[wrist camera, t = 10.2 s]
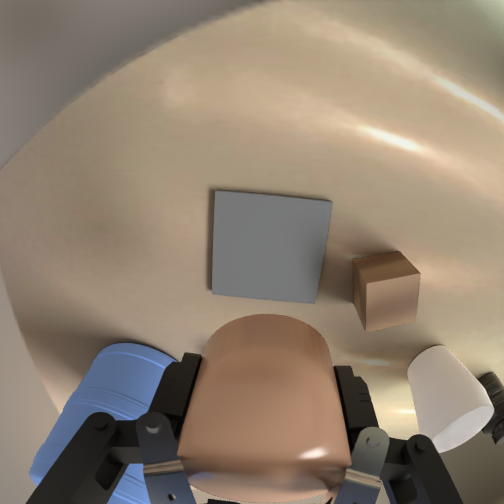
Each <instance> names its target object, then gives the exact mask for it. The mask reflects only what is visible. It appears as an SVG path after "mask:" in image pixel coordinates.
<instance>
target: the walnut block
mask: <svg viewBox="0 0 504 504" xmlns="http://www.w3.org/2000/svg"><path fill="white" fill-rule="evenodd" d="M352 270H353V304H354V306H355V308H356V310H357V313H358V315H359V317H360V320H361V322H362V325H363V327H364V329H365V332H370V331H375V330H380V329H384V328H389V327H394V326H398V325H403V324H407V323H411V322H415V321H416V313H417V305H418V296H419V286H420V274H421V273H420V272H419V271H418V270H417V269H416V268H415V267H414V266H413V265H412V264H411V263H410V262H409V261H408V259H407V258H406V257H405V256H404V255H403V254H402V253H401V252H400V251H397V252H391V253H385V254H379V255H373V256H367V257H361V258H355V259H352Z"/></svg>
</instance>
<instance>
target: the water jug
mask: <svg viewBox="0 0 504 504" xmlns="http://www.w3.org/2000/svg"><path fill="white" fill-rule="evenodd" d="M173 361H174V362H177V361H176V360H174V359H173V358H171V357H170V356H168V355H166V354H164V353H162V352H160V351H158V350H156V349H153V348H150V347H147V346H144V345H140V344H134V343H117V344H113V345H110V346H107V347H106V348H104V349H103V350H101V351H100V352H99V354H98V355H97V357H96V358H95V360H94V361H93V363H92V365H91V368H90V369H89V371H88V372H87V374H86V375H85V377H84V378H83V380H82V381H81V383H80V385H79V386H78V388H77V389H76V391H75V392H74V393H73V394H72V395H71V396H70V398H69V400H68V401H67V403H66V404H65V407H64V409H63V412H62V414H61V415H60V417H59V419H58V420H57V422H56V424H55V425H54V427H53V429H52V431H51V432H50V434H49V436H48V437H47V439H46V441H45V443H44V444H43V445H42V446H41V447H40V449H39V450H38V452H37V454H36V456H35V458H34V460H33V465H32V467H31V468H30V471H29V475H30V477H31V479H32V480H33V482H34V483H35V485H36V486H38V485H39V483H40V482H41V481H42V479H43V478H44V476H45V475H46V474H47V472H48V471H49V469H50V468H51V467H52V465H53V464H54V462H55V461H56V460H57V458H58V457H59V455H60V454H61V453H62V451H63V450H64V448H65V447H66V446H67V444H68V443H69V442H70V440H71V439H72V438H73V436H74V435H75V433H76V432H77V431H78V429H79V428H80V427H81V425H82V424H83V423H84V421H85V420H86V419H87V417H88V416H90V415H91V414H93V413H96V412H106V413H108V414H110V415H112V416H113V417H114V419H115V420H135V419H138V418H139V417H140V416H141V415H143V414H145V413H147V411H148V409H149V407H150V404H151V402H152V399H153V397H154V394H155V392H156V389H157V387H158V385H159V382H160V380H161V378H162V375H163V372H164V370H165V368H166V367H167V366H168V365H169V364H170V363H171V362H173ZM143 468H144V467H143V464H129V466H128V467H127V469H126V471H125V473H124V474H123V476H122V478H121V480H120V481H119V483H118V485H117V487H116V488H115V490H114V492H113V494H112V496H111V497H110V499H109V501H108V503H107V504H151V503H150V499H149V496H148V492H147V488H146V484H145V480H144V475H143Z"/></svg>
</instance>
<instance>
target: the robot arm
mask: <svg viewBox="0 0 504 504" xmlns="http://www.w3.org/2000/svg"><path fill="white" fill-rule="evenodd" d="M201 360H202V356H201V355H200V354H194V353H187V352H185V353H184V356H183V358H182V361H181V363H179V362H174V361H173V362H171V363H170V364H169V365H168V366H167V367H166V368H165V370H164V372H163V375H162V378H161V380H160V382H159V385H158V387H157V389H156V392H155V394H154V397H153V399H152V402H151V404H150V407H149V409H148V411H147V413H145V414H143V415H141V416H140V417H139V418H138V419H135V420H115V419H114V417H113V416H112V415H110V414H108V413H106V412H96V413H93V414H91V415H90V416H88V417H87V419H86V420H85V421H84V423H83V424H82V425H81V427H80V428H79V429H78V431H77V432H76V433H75V435H74V436H73V438H72V439H71V440H70V442H69V443H68V444H67V446H66V447H65V448H64V450H63V451H62V453H61V454H60V455H59V457H58V458H57V460H56V461H55V462H54V464H53V465H52V467H51V468H50V469H49V471H48V472H47V474H46V475H45V476H44V478H43V479H42V481H41V482H40V483H39V485H38V486H37V488H36V489H35V491H34V492H33V494H32V495H31V496H30V498H29V499H28V501H27V502H26V504H107V503H108V501H109V499H110V497H111V496H112V494H113V492H114V490H115V488H116V487H117V485H118V483H119V481H120V480H121V478H122V476H123V474H124V473H125V471H126V469H127V467H128V466H129V464H143V467H144V468H143V475H144V480H145V484H146V488H147V492H148V496H149V499H150V503H151V504H196V501H195V498H194V496H193V493H192V490H191V487H190V484H189V482H188V479H187V476H186V473H185V470H184V467H183V464H182V462H181V458H180V455H177V452H178V449H177V445H178V441H179V437H180V434H181V430H182V427H183V423H184V419H185V416H186V412H187V409H188V405H189V402H190V398H191V395H192V391H193V388H194V384H195V381H196V377H197V374H198V370H199V367H200V363H201ZM333 368H334V373H335V377H336V382H337V387H338V391H339V396H340V401H341V406H342V411H343V416H344V422H345V427H346V432H347V438H348V444H349V449H350V455H351V462H352V465H347V466H346V468H345V469H344V470H343V473H342V475H341V477H340V479H339V481H338V482H337V484H336V485H335V486H330V487H329V489H328V490H327V492H326V494H325V496H324V498H323V499H322V500H321V502H320V504H375V503H376V500H377V497H378V494H379V491H380V488H381V482H380V481H379V479H380V480H382V482H383V485H384V487H385V490H386V493H387V495H388V498H389V501H390V503H391V504H463V502H462V500H461V498H460V495H459V493H458V491H457V489H456V487H455V485H454V483H453V481H452V479H451V477H450V475H449V473H448V471H447V469H446V467H445V465H444V463H443V461H442V459H441V457H440V456H439V453H438V451H437V449H436V447H435V445H434V444H433V442H432V440H431V439H430V438H429V437H427V436H425V435H422V434H417V435H414V436H412V437H410V438H409V440H401V439H395V438H391V437H389V436H388V434H387V433H386V432H385V431H384V430H382V429H381V428H379V425H378V422H377V418H376V414H375V411H374V407H373V404H372V402H371V397H370V395H369V390H368V387H367V384H366V383H365V382H364V381H363V379H362V378H361V377H360V376H359V377H354V374H353V371H352V368H351V366H334V367H333ZM206 504H240V503H236V502H230V501H222V500H214V499H208V503H206Z"/></svg>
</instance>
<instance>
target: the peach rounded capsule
mask: <svg viewBox="0 0 504 504" xmlns="http://www.w3.org/2000/svg"><path fill="white" fill-rule="evenodd" d="M177 449H178V452H177V455H180V458H181V462H182V464H183V467H184V470H185V473H186V476H187V479H188V482H189V484H190V485H191V486H193V487H195V488H197V489H199V490H201V491H203V492H206V493H208V494H211V495H214V496H217V497H221V498H225V499H229V500H235V501H241V502H250V503H281V502H290V501H296V500H302V499H307V498H310V497H314V496H317V495H320V494H322V493H325V492H327V490H328V489H329V487H330V486H335V485H336V484H337V482H338V481H339V479H340V477H341V475H342V473H343V470H344V469H345V468H346V466H347V465H352V462H351V455H350V449H349V444H348V438H347V432H346V427H345V422H344V416H343V411H342V406H341V401H340V396H339V391H338V387H337V382H336V377H335V373H334V368H333V363H332V359H331V354H330V350H329V347H328V345H327V343H326V341H325V339H324V338H323V337H322V336H321V334H320V333H319V332H318V331H316V330H315V329H314V328H313V327H311V326H310V325H308V324H306V323H304V322H302V321H300V320H298V319H295V318H292V317H288V316H284V315H276V314H257V315H250V316H245V317H242V318H238V319H236V320H233V321H231V322H229V323H227V324H225V325H224V326H222V327H221V328H220V329H218V330H217V331H216V332H215V333H214V334H213V335H212V336H211V338H210V339H209V340H208V342H207V344H206V347H205V350H204V353H203V357H202V360H201V363H200V367H199V370H198V374H197V377H196V381H195V384H194V388H193V391H192V395H191V398H190V402H189V405H188V409H187V412H186V416H185V419H184V423H183V427H182V430H181V434H180V437H179V441H178V445H177Z"/></svg>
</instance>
